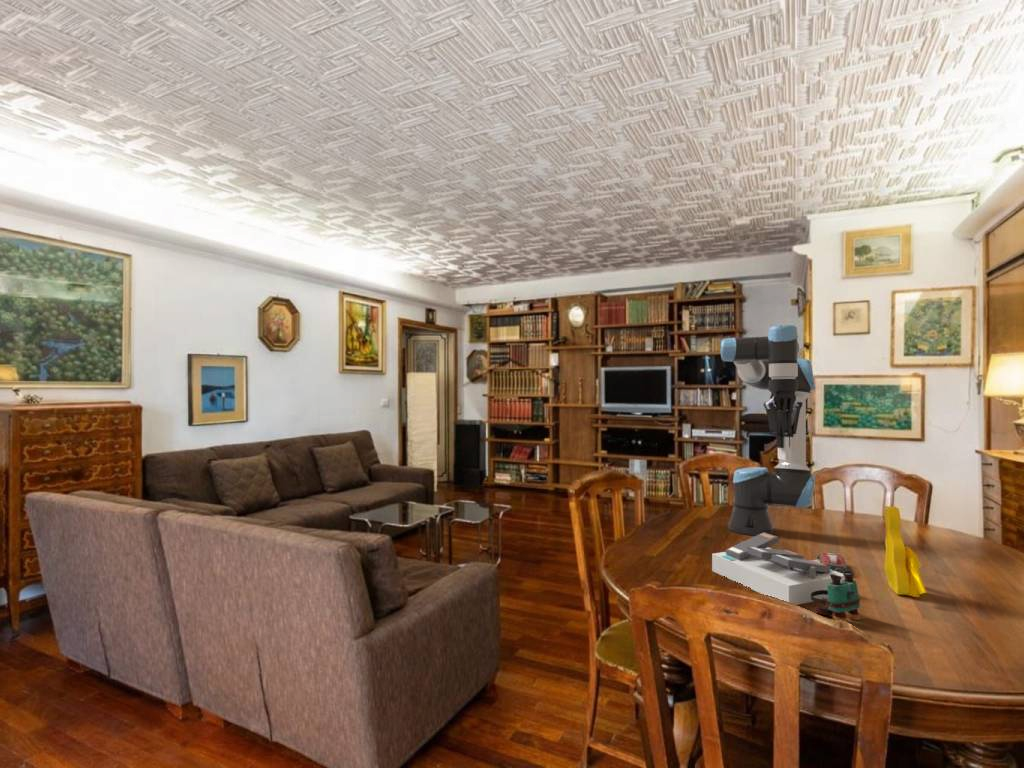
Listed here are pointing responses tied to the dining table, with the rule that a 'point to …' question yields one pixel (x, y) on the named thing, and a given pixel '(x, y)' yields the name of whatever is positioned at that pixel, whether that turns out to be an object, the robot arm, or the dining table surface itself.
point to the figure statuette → (900, 559)
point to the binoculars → (840, 598)
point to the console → (774, 577)
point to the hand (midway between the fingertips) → (783, 459)
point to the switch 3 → (800, 563)
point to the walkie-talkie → (832, 561)
